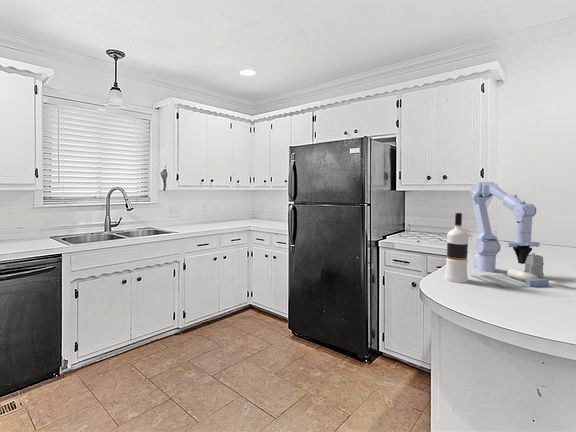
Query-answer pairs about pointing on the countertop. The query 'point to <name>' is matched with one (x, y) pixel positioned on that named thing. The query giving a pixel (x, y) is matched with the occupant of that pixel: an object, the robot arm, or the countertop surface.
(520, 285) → the board
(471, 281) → the countertop surface
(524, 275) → the cream paper roll
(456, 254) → the vodka
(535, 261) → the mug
